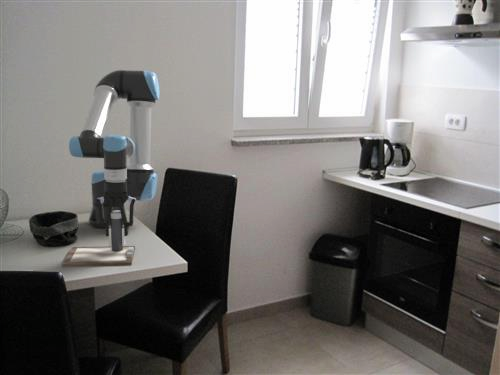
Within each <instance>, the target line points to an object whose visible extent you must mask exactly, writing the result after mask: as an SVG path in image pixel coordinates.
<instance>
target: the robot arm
mask: <svg viewBox="0 0 500 375" xmlns="http://www.w3.org/2000/svg"><path fill="white" fill-rule="evenodd" d="M160 94H161V93H160V84H159V80H158V77H157V74H156V73H155V72H154V71H149V70H147V71H146V70H123V69H117V70H113V71H112V72H110V73H109V72H108V74H106V75H105V76H103V77H102V78H101V79H100V80H99V81H98V83H96V86H95V87H94V90H93V95H94V96H93V97H94V98H93V99H92V103H91V104H90V105H91V106H90V109H89V111H88V114H87V116H86V119H85V122H84V124H83V127H82V130H81V131H80V135H79V136H78V135H77V136H76V135H75V136H72V137H71V138H70V139H69V142H68V149H69V154H70V155H71V156H72V157H73V158H81V159H86V158H87V159H90V158H91V159H103V168H102V169H99V170H96V171H94V172H93V173H92V174H91V182H90V184H91V201H92V206H91V210H90V213H89V217H88V225H89V226H90V227H92V228H97V229H105V236H106V237H108V245H109V246H112V238H111V213H112V211H115V210H119V211H121V216H122V224H123V227H122V246H126V237H128V235H129V227H132V226H133V224H134V213H135V212H134V210H135V202H139V201H140V202H147V201H149V202H150V201H152V200H153V199H154V198H155V195H156V191H157V186H158V174H157V173H155V172H154V168H153V167H152V166H151V144H152V140H151V139H152V138H151V137H152V135H151V134H152V110H153V108H154V106H156V101H158V100H160ZM120 99H122V100H123V99H124V100H126V103H127V105H128V106H129V108H130V110H129V111H130V112H129V113H130V116H129V121H130V122H129V137H127V136H124V135H122V134H109V135H108V134H107V135H105V136H104V137H103V134H104V132H105V129H106V127H107V124H108V120H109V118H110V114H111V111H112V109H113V106H114V104H116V103H117V101H118V100H120ZM127 158H129V160H128V159H127ZM127 160H128V165H127ZM127 201H128V203H129V204H130V205H129V215H128V216H129V218H128V217H127V214H126V209H125V203H127ZM128 220H129V221H128Z"/></svg>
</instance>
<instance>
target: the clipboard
mask: <svg viewBox="0 0 500 375" xmlns="http://www.w3.org/2000/svg"><path fill="white" fill-rule="evenodd" d="M135 250H136V246H135V245H125V246H123V250H122V251H119V252H114V251H112V249H111V246H108V245H106V246H72V247H71V249H70V250H69V252H68V254H67V256H66V258H65V259H64V260H63V262H62V267H63V268H65V267H66V268H67V267H96V266H97V267H99V266H101V267H102V266H103V267H104V266H106V267H107V266H132V264H133V259H134V255H135Z"/></svg>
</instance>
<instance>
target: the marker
mask: <svg viewBox="0 0 500 375" xmlns="http://www.w3.org/2000/svg"><path fill="white" fill-rule="evenodd" d="M123 226H124V225H123V224H122V216H121V211H119V210H115V211H112V213H111V238H112V246H111V249H112V251H114V252H119V251H122V250H123V246H122V227H123Z"/></svg>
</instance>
